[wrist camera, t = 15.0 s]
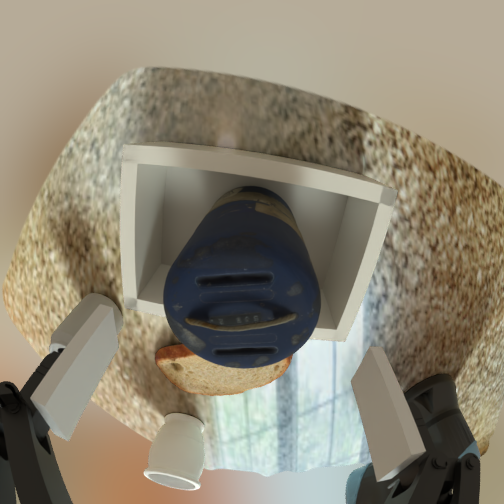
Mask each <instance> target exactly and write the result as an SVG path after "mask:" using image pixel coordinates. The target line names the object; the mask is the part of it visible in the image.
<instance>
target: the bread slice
mask: <svg viewBox="0 0 504 504" xmlns="http://www.w3.org/2000/svg"><path fill="white" fill-rule="evenodd" d="M292 356H293V354H292V355H291V356H289V357H287V358H285V359H284V360H282V361H280V362H277V363H275V364H272V365H268V366H264V367H258V368H248V369H241V368H230V367H224V366H220V365H217V364H214V363H211V362H209V361H207V360H205V359H203V358H201V357H199V356H197V355H196V354H194V353H193V352H192V351H190V350H189V349H188V348H187V347H185V346H184V345H183V344H179V345H173V346H167V347H163V348H161V349H160V350H158V351H157V353H156V355H155V362H156V364H157V366H158V367H159V368H160V370H161V371H162V372H163V374H164V375H165V376H166V377H167V378H168V379H169V380H170V382H172V383H173V384H174V385H175V386H177V387H178V388H180V389H181V390H183V391H185V392H188V393H195V394H202V395H210V396H214V395H219V396H222V395H233V394H239V393H243V392H244V391H246V390H249V389H253V388H257V387H261V386H264V385H266V384H268V383H271V382H272V381H274V380H275V379H277V378H278V377H280V376H281V375H283V373H284V372H285V371H286V369H287V368H288V366H289V365H290V363H291V359H292Z"/></svg>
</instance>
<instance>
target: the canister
mask: <svg viewBox="0 0 504 504" xmlns="http://www.w3.org/2000/svg"><path fill="white" fill-rule="evenodd" d="M163 305H164V311H165V315H166V318H167V321H168V323H169V325H170V327H171V329H172V331H173V333H174V334H175V335H176V337H177V338H178V339H179V340H180V341H181V343H182V344H183V345H184V346H185V347H187V348H188V349H189V350H190V351H192V352H193V353H194V354H196V355H197V356H199V357H201V358H203V359H205V360H207V361H209V362H211V363H214V364H217V365H220V366H224V367H230V368H241V369H248V368H258V367H264V366H268V365H272V364H275V363H277V362H280V361H282V360H284V359H285V358H287V357H289V356H291V355H292V354H294V353H295V352H296V351H297V350H299V349H300V348H301V347H302V346H303V345H304V344H305V343H306V342H307V340H308V339H309V338H310V337H311V335H312V333H313V331H314V329H315V327H316V325H317V323H318V320H319V315H320V310H321V293H320V288H319V283H318V280H317V276H316V273H315V271H314V268H313V264H312V261H311V259H310V256H309V253H308V250H307V248H306V245H305V242H304V239H303V237H302V234H301V232H300V230H299V229H298V226H297V224H296V220H295V218H294V216H293V213H292V211H291V209H290V208H289V206H288V205H287V203H286V202H285V201H284V200H283V199H282V198H281V197H280V196H279V195H277V194H276V193H274V192H273V191H271V190H268V189H266V188H263V187H258V186H242V187H238V188H235V189H232V190H230V191H228V192H226V193H225V194H223V195H222V196H221V197H220V198H219V199H218V200H217V201H216V202H215V203H214V205H213V206H212V208H211V209H210V210H209V212H208V213H207V214H206V215H205V217H204V218H203V220H202V221H201V223H200V224H199V225H198V227H197V228H196V230H195V232H194V233H193V235H192V236H191V238H190V239H189V241H188V242H187V243H186V245H185V246H184V248H183V249H182V251H181V252H180V253H179V255H178V257H177V258H176V260H175V261H174V263H173V264H172V266H171V268H170V269H169V272H168V274H167V277H166V281H165V285H164V291H163Z"/></svg>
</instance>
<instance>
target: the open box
mask: <svg viewBox="0 0 504 504" xmlns="http://www.w3.org/2000/svg"><path fill="white" fill-rule="evenodd" d="M242 186H258V187H263V188H266V189H268V190H271V191H273V192H274V193H276V194H277V195H279V196H280V197H281V198H282V199H283V200H284V201H285V202H286V203H287V205H288V206H289V208H290V209H291V211H292V213H293V216H294V218H295V220H296V224H297V226H298V229H299V230H300V232H301V234H302V237H303V239H304V242H305V245H306V248H307V250H308V253H309V256H310V259H311V261H312V264H313V268H314V271H315V273H316V276H317V280H318V283H319V288H320V293H321V310H320V315H319V320H318V323H317V325H316V327H315V329H314V331H313V333H312V335H311V337H310V338H309V339H315V340H327V341H340V342H345V341H346V338H347V336H348V334H349V332H350V330H351V327H352V325H353V323H354V320H355V318H356V315H357V313H358V311H359V308H360V306H361V303H362V301H363V298H364V296H365V293H366V291H367V288H368V285H369V283H370V280H371V277H372V274H373V272H374V269H375V266H376V263H377V260H378V257H379V254H380V251H381V248H382V245H383V242H384V239H385V236H386V232H387V229H388V226H389V222H390V219H391V215H392V212H393V208H394V205H395V201H396V197H397V193H398V190H396V189H394V188H392V187H390V186H387V185H385V184H383V183H381V182H378V181H376V180H374V179H371V178H369V177H367V176H364V175H361V174H357V173H354V172H350V171H346V170H342V169H337V168H333V167H329V166H325V165H320V164H316V163H311V162H306V161H302V160H297V159H292V158H286V157H281V156H276V155H270V154H264V153H258V152H252V151H245V150H238V149H231V148H224V147H216V146H207V145H198V144H188V143H177V142H164V141H156V142H144V143H134V144H125V145H123V155H122V169H121V190H120V249H121V270H122V284H123V296H124V306H125V308H127V309H131V310H135V311H139V312H144V313H148V314H153V315H157V316H162V317H166V315H165V311H164V305H163V291H164V285H165V281H166V277H167V274H168V272H169V269H170V268H171V266H172V264H173V263H174V261H175V260H176V258H177V257H178V255H179V253H180V252H181V251H182V249H183V248H184V246H185V245H186V243H187V242H188V241H189V239H190V238H191V236H192V235H193V233H194V232H195V230H196V228H197V227H198V225H199V224H200V223H201V221H202V220H203V218H204V217H205V215H206V214H207V213H208V212H209V210H210V209H211V208H212V206H213V205H214V203H215V202H216V201H217V200H218V199H219V198H220V197H221V196H222V195H223V194H225V193H226V192H228V191H230V190H232V189H235V188H238V187H242Z"/></svg>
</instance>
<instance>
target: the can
mask: <svg viewBox="0 0 504 504" xmlns="http://www.w3.org/2000/svg"><path fill="white" fill-rule="evenodd" d="M100 304H102V305H105V306H109V307H113V313H114V320H115V326H116V333H117V335H118V333H119V332H120V330H121V328H122V326H123V317H122V315H121V312H120V310H119V309H118V307H117V306H116V304H115V303H114V302H113V301H112V300H111V299H109V298H108V297H106V296H104V295H101V294H98V293H90V294H88V295H86V296H85V297H84V298H83V299H82V300H81V301H80V303H79V304H78V305H77V306H76V307H75V308H74V309H73V310H72V312H71V313H70V314H69V315H68V316H67V317H66V318H65V320H64V321H63V322H62V323H61V324H60V325H59V327H58V328H57V329H56V330H55V331H54V333H53V334H52V336H51V344H50V346H49V352H50V353H52V352H53V351H56V352H58V353H60V354H61V353H62V352H63V350H64V349H65V348H66V346H67V345H68V344H69V342H70V341H71V340H72V339H73V337H74V336H75V335H76V333H77V332H78V331H79V330H80V328H81V327H82V326H83V325H84V323H85V322H86V321H87V320H88V318H89V317H90V316H91V315H92V313H93V312H94V311H95V310H96V309H97V307H98V306H99V305H100Z"/></svg>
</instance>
